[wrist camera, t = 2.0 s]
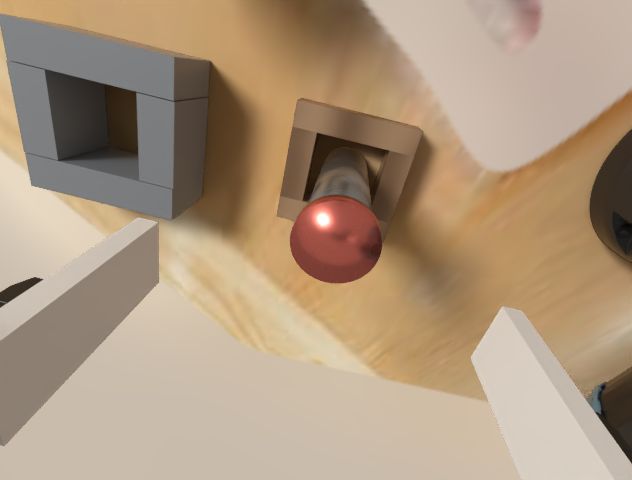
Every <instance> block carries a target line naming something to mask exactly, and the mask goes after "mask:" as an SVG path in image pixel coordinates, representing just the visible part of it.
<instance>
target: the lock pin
mask: <svg viewBox="0 0 632 480" xmlns="http://www.w3.org/2000/svg"><path fill="white" fill-rule="evenodd" d="M290 247H291V251H292V255H293V257H294V259H295V261H296V262H297V264H298V265H299V266H300V267H301V269H303V270H304V271H305V272H306V273H307V274H309V275H310V276H312V277H314V278H316V279H318V280H320V281H324V282H328V283H347V282H351V281H354V280H357V279H359V278H361V277H363V276H364V275H366V274H367V273H368V272H369V271H370V270H371V269H372V268H373V267H374V266H375V264H376V263H377V261H378V259H379V257H380V254H381V250H382V237H381V231H380V226H379V223H378V220H377V218H376V216H375V215H374V213H373V212H372V205H371V197H370V189H369V180H368V172H367V164H366V161H365V159H364V157H363V156H362V155H361V153H359V152H358V151H357V150H355V149H352V148H348V147H342V148H338V149H335V150H334V151H332V152H331V153H330V154H329V155H328V156H327V157H326V159H325V161H324V164H323V166H322V169H321V171H320V174H319V177H318V179H317V182H316V185H315V187H314V190H313V192H312V195H311V198H310V200H309V203H308V204H307V205H306V206H305V207H304V208H303V209H302V210H301V211H300V213H299V215H298V216H297V219H296V221H295V223H294V225H293V228H292V231H291V235H290Z"/></svg>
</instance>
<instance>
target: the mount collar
mask: <svg viewBox="0 0 632 480" xmlns="http://www.w3.org/2000/svg"><path fill="white" fill-rule="evenodd" d="M319 133H321V134H325V135H329V136H333V137H337V138H341V139H345V140H349V141H353V142H357V143H361V144H365V145H369V146H373V147H377V148H381V149H385V153H384V156H383V160H382V163H381V166H380V169H379V172H378V175H377V179H376V182H375V185H374V188H373V191H372V194H371V205H372V212H373V213H374V215H375V216H376V218H377V220H378V223H379V226H380V231H381V237H382V243H383V242H384V239H385V236H386V233H387V231H388V228H389V225H390V222H391V220H392V217H393V214H394V211H395V208H396V206H397V203H398V200H399V197H400V194H401V192H402V189H403V186H404V183H405V180H406V178H407V175H408V172H409V169H410V167H411V164H412V161H413V158H414V155H415V153H416V150H417V147H418V144H419V141H420V139H421V136H422V133H423V131H422V130H421V129H420V128H419V127H416V126H412V125H408V124H404V123H400V122H396V121H392V120H388V119H384V118H380V117H376V116H372V115H368V114H364V113H360V112H356V111H352V110H348V109H344V108H340V107H336V106H332V105H328V104H324V103H320V102H316V101H312V100H308V99H304V98H301V99H298V100H297V104H296V110H295V116H294V121H293V127H292V132H291V138H290V144H289V149H288V155H287V161H286V166H285V172H284V177H283V183H282V189H281V194H280V200H279V205H278V211H277V216H278V217H282V218H286V219H290V220H294V221H296V219H297V216H298V215H299V213H300V211H301V210H302V209H303V208H304V207H305V206H306V205H307V204H308V203H309V200H310V198H311V195H312V194H310V193H306V191H307V186H308V181H309V177H310V172H311V167H312V163H313V158H314V153H315V149H316V144H317V140H318V135H319Z"/></svg>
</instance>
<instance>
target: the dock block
mask: <svg viewBox="0 0 632 480" xmlns="http://www.w3.org/2000/svg"><path fill="white" fill-rule="evenodd" d="M0 26H1V31H2V36H3V41H4V47H5V52H6V57H7V60H6V61H7V66H8V71H9V76H10V82H11V87H12V92H13V97H14V102H15V107H16V112H17V117H18V122H19V128H20V133H21V138H22V143H23V148H24V152H26V153H25V155H26V160H27V165H28V170H29V175H30V180H31V185H32V186H35V187H39V188H43V189H47V190H51V191H55V192H59V193H63V194H67V195H71V196H75V197H80V198H84V199H88V200H92V201H96V202H100V203H104V204H108V205H112V206H116V207H120V208H124V209H128V210H132V211H136V212H140V213H144V214H148V215H152V216H156V217H160V218H164V219H168V220H173V219H174V218H176V217H177V216H178V215H180V214H181V213H182V212H183V211H185V210H186V209H187V208H189V207H190V206H191V205H192V204H194V203H195V202H196V201H198V200H199V199H200V198H201V197H202V192H203V175H204V169H205V153H206V137H207V120H208V104H209V97H208V92H209V76H210V61H208V60H204V59H200V58H196V57H192V56H188V55H184V54H180V53H176V52H172V51H168V50H164V49H160V48H156V47H152V46H148V45H144V44H140V43H136V42H132V41H128V40H124V39H120V38H116V37H112V36H108V35H104V34H100V33H96V32H92V31H88V30H84V29H80V28H76V27H72V26H67V25H61V24H56V23H50V22H45V21H39V20H33V19H28V18H22V17H17V16H11V15H6V14H0ZM9 60H11V61H9ZM105 84H107V85H111V86H115V87H119V88H123V89H127V90H131V91H135V92H139V93H136V97H137V126H138V154H136V153H132V152H128V151H124V150H120V149H116V148H112V147H108V146H109V138H108V125H107V111H106V98H105Z"/></svg>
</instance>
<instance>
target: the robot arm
mask: <svg viewBox="0 0 632 480" xmlns="http://www.w3.org/2000/svg"><path fill="white" fill-rule="evenodd" d="M590 216H591V221H592V224H593V227H594V229H595V232H596V233H597V235H598V237H599V238H600V239H601V240H602V242H603V243H604V244H605V245H606V246H608V247H609V248H610V249H612V250H613V251H614V252H616V253H617V254H619V255H620V256H622V257H623V258H625V259H626V260H628V261H630V262H631V263H632V129H631V130H630V131H629V132H628V133H627V134H626V135H625V136H624V137H623V138H622V139H621V141H620V142H619V143H618V144H617V145H616V146H615V148H614V149H613V150H612V151H611V153H610V154H609V156H608V157H607V159H606V160H605V162H604V163H603V165H602V167H601V169H600V171H599V173H598V175H597V177H596V180H595V182H594V185H593V189H592V193H591V198H590ZM158 283H159V222H156V221H152V220H148V219H143V218H139V217H138V218H136V219H135V220H133V221H132V222H130V223H129V224H127V225H126V226H124V227H123V228H121V229H120V230H118V231H117V232H115V233H114V234H112V235H110V236H109V237H107V238H106V239H104V240H103V241H101V242H100V243H99V244H97V245H95V246H94V247H92V248H91V249H89V250H88V251H86V252H85V253H83V254H82V255H80V256H79V257H77V258H75V259H74V260H72V261H71V262H69V263H68V264H66V265H65V266H63V267H62V268H60V269H59V270H57V271H56V272H54V273H53V274H51V275H50V276H48V277H47V278H45V279H40V278H36V277H34V278H31V279H28V280H25V281H23V282H20V283H17V284H14V285H12V286H10V287H8V288H6V289H5V290H3V291H2V292H0V445H2V446H5V445H6V444H7V443H8V442H9V441H10V440H11V438H12V437H13V436H14V435H15V434H16V433H17V432H18V431H19V430H20V429H21V428H22V427H23V426H24V425H25V424H26V423H27V421H28V420H29V419H30V418H31V417H32V416H33V415H34V414H35V413H36V412H37V411H38V410H39V408H41V406H43V405H44V403H45V402H46V401H47V400H48V399H49V398H50V397H51V396H52V395H53V394H54V393H55V392H56V391H57V390H58V389H59V388H60V386H61V385H62V384H63V383H64V382H65V381H66V380H67V379H68V378H69V377H70V376H71V375H72V374H73V373H74V372H75V371H76V370H77V368H78V367H79V366H80V365H81V364H82V363H83V362H84V361H85V360H86V359H87V358H88V357H89V356H90V355H91V353H93V352H94V350H95V349H96V348H97V347H98V346H99V345H100V344H101V343H102V342H103V341H104V340H105V339H106V338H107V337H108V336H109V335H110V334H111V332H112V331H113V330H114V329H115V328H116V327H117V326H118V325H119V324H120V323H121V322H122V321H123V320H124V319H125V318H126V317H127V315H128V314H129V313H130V312H131V311H132V310H133V309H134V308H135V307H136V306H137V305H138V304H139V303H140V302H141V301H142V300H143V299H144V297H145V296H146V295H147V294H148V293H149V292H150V291H151V290H152V289H153V288H154V287H155V286H156V285H157V284H158ZM471 360H472V363H473V365H474V368H475V370H476V373H477V375H478V377H479V380H480V382H481V385H482V387H483V389H484V392H485V394H486V397H487V399H488V402H489V404H490V406H491V409H492V411H493V414H494V416H495V418H496V421H497V423H498V426H499V428H500V430H501V433H502V435H503V438H504V440H505V443H506V445H507V447H508V450H509V452H510V455H511V457H512V459H513V462H514V464H515V467H516V469H517V471H518V474H519V476H520V479H521V480H632V367H630V368H629V369H627V370H626V371H624V372H623V373H621V374H620V375H618V376H617V377H615V378H614V379H612V380H611V381H609V382H605V383H602V384H600V385H598V386H597V387H595V388H594V390H593V392H592V394H591V395H590V396H589V397H587V398H586V399H585V398H584V396H583V395H582V394H581V392H580V391H579V390H578V388H577V387H576V385H575V384H574V383H573V381H572V380H571V378H570V377H569V376H568V374H567V373H566V371H565V370H564V369H563V367H562V366H561V364H560V363H559V362H558V360H557V359H556V357H555V356H554V355H553V353H552V352H551V350H550V349H549V348H548V346H547V345H546V343H545V342H544V341H543V339H542V338H541V336H540V335H539V334H538V332H537V331H536V330H535V328H534V327H533V325H532V324H531V323H530V321H529V320H528V318H527V317H526V316H525V314H524V313H523V311H520V310H516V309H512V308H508V307H504V306H502V307H501V309H500V311H499V312H498V314H497V315H496V317H495V319H494V320H493V322H492V324H491V325H490V327H489V328H488V330H487V332H486V333H485V335H484V337H483V338H482V340H481V341H480V343H479V345H478V346H477V348H476V349H475V351H474V353H473V354H472V356H471Z"/></svg>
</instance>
